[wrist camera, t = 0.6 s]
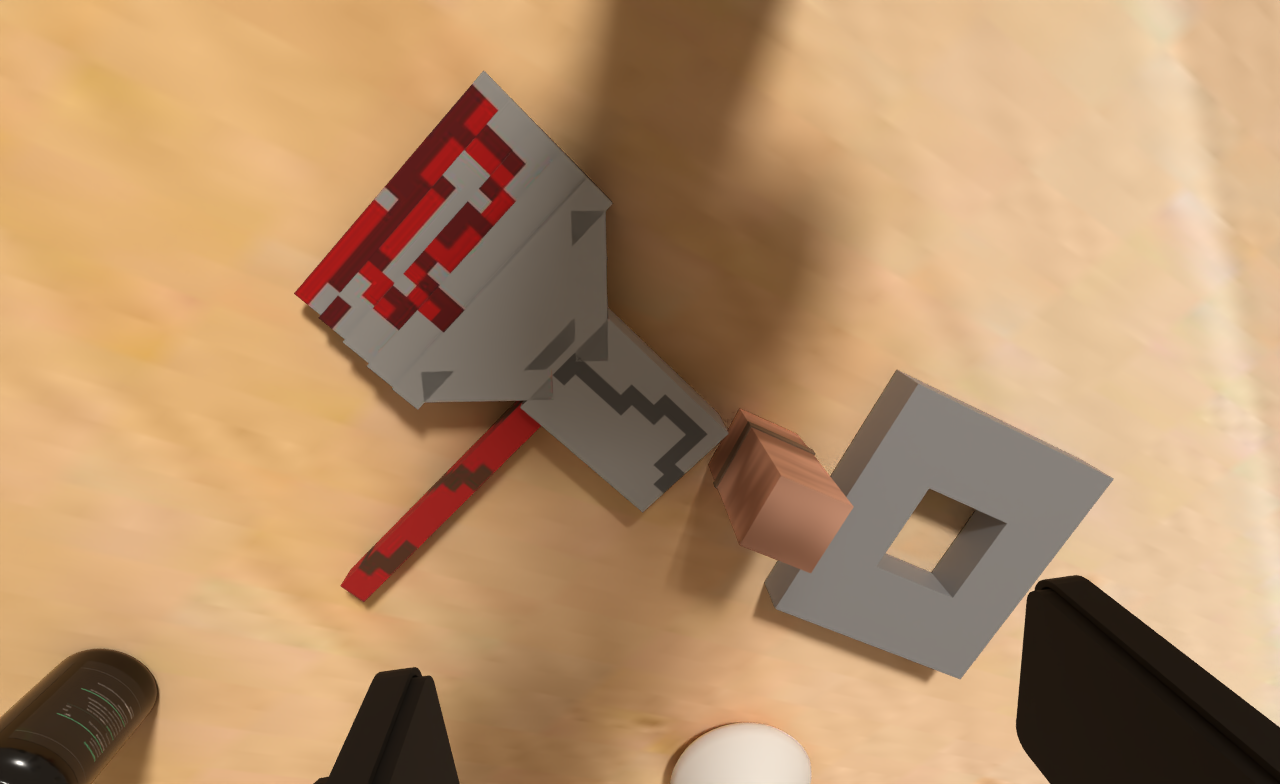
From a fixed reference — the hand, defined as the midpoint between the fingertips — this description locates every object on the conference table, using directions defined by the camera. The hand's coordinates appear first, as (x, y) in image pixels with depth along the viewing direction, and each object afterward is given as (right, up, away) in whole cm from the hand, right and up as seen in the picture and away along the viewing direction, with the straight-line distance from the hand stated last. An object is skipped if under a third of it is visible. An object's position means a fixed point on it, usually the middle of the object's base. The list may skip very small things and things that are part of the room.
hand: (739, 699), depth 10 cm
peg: (+6, +1, +33) cm, 34 cm away
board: (+19, -5, +36) cm, 41 cm away
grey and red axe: (-12, +4, +32) cm, 34 cm away
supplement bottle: (-40, -16, +36) cm, 56 cm away
